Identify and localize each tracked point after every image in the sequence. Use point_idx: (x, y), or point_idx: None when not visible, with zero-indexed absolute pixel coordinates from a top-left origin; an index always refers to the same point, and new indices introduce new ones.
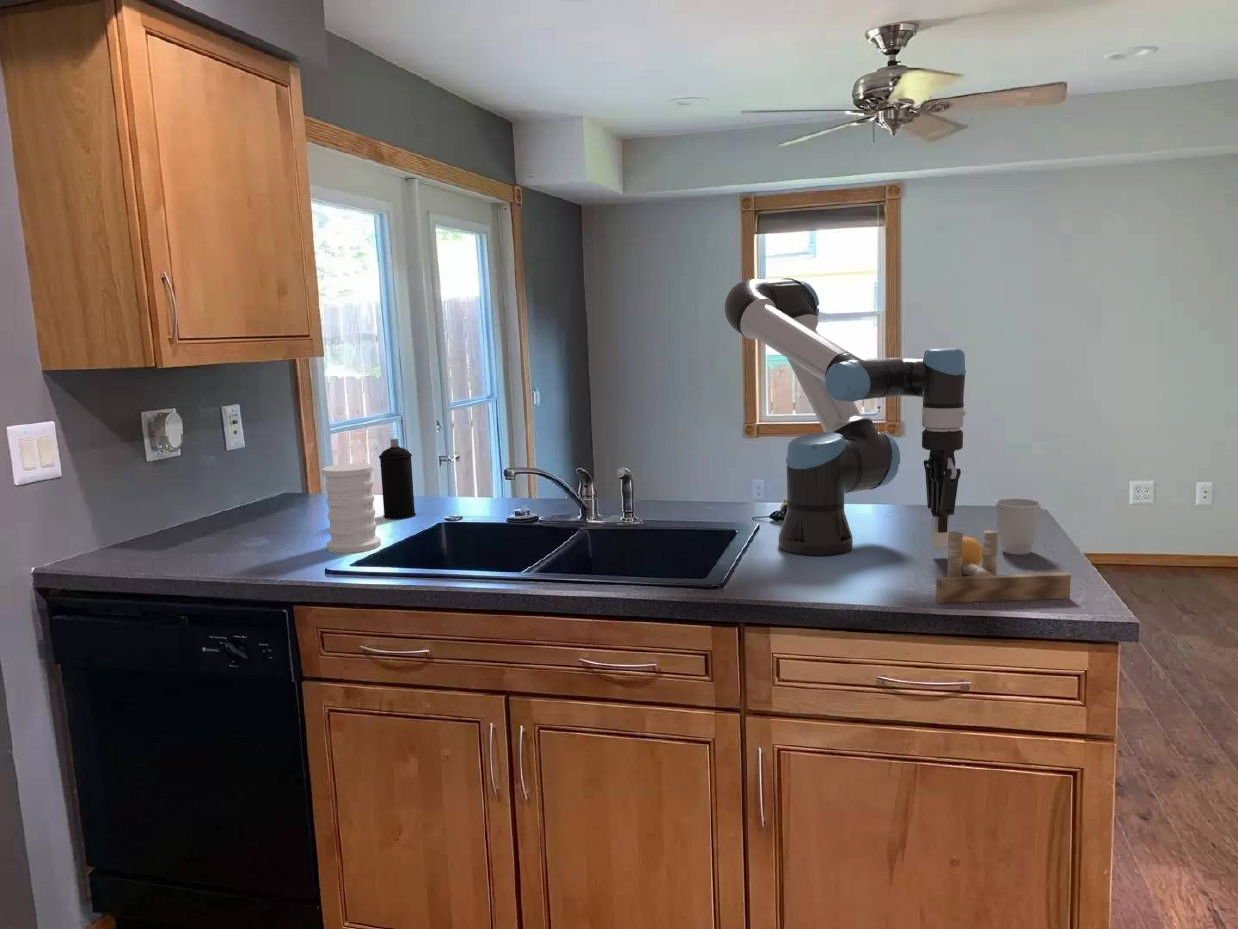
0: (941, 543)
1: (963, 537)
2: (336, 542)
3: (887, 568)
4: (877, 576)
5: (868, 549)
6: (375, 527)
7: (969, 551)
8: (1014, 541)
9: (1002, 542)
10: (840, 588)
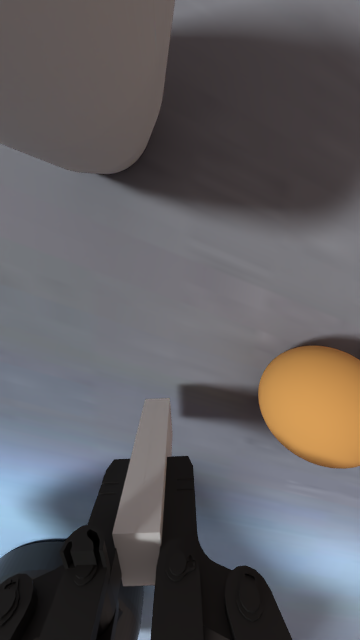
0: (170, 427)
1: (355, 457)
2: None
3: (250, 517)
4: (303, 541)
5: (84, 516)
6: None
7: None
8: (154, 121)
9: (105, 171)
10: (357, 595)
